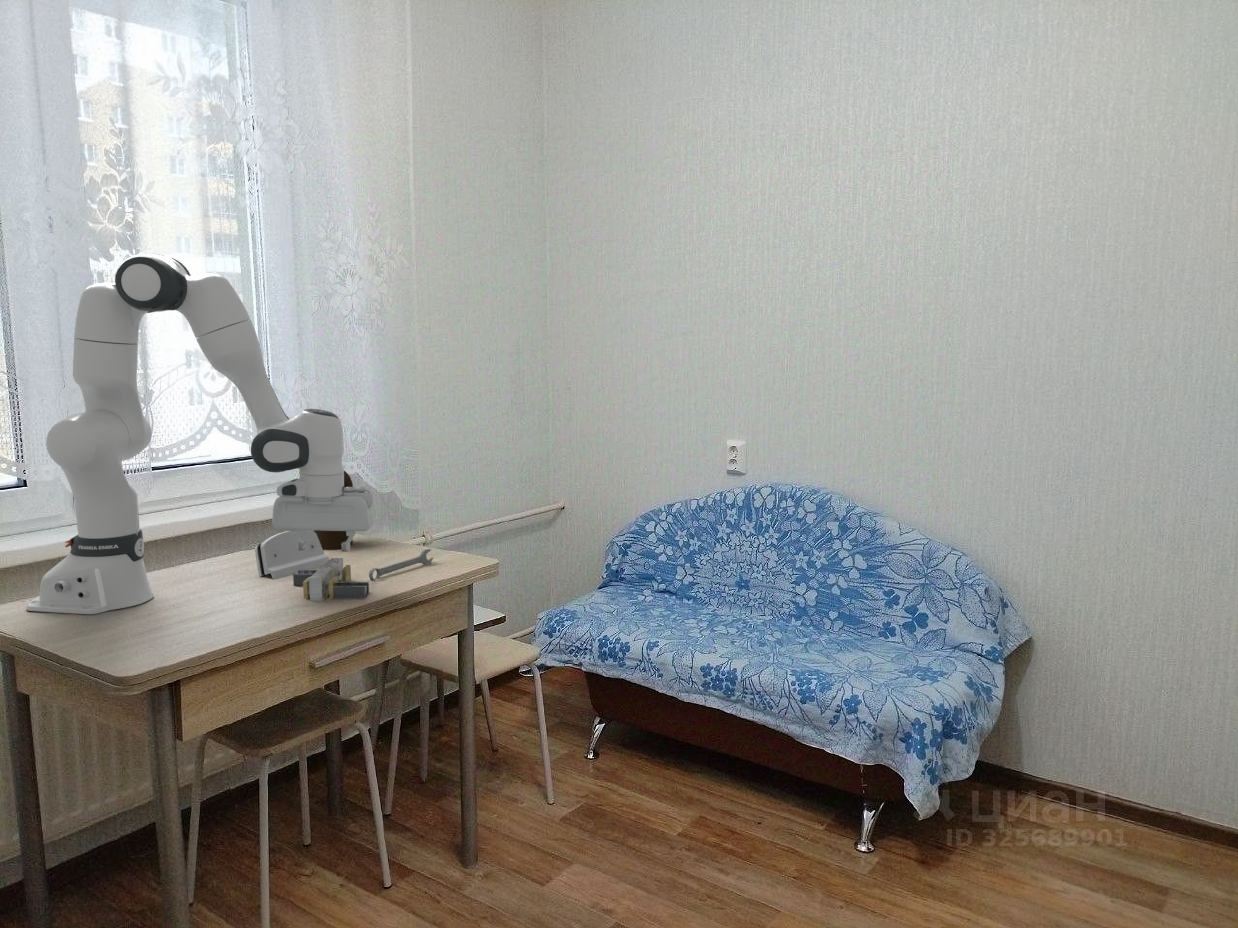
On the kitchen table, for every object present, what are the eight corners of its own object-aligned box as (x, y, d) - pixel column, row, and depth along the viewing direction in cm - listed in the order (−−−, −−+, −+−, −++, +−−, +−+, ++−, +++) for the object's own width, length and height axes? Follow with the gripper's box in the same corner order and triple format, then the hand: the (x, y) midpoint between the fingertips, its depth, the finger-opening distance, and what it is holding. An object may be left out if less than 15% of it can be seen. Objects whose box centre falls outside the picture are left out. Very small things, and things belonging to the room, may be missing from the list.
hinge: (272, 579, 209) (260, 536, 209) (260, 583, 212) (247, 540, 212) (331, 563, 223) (320, 522, 224) (319, 567, 226) (307, 527, 226)
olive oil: (363, 544, 242) (359, 448, 239) (327, 552, 234) (322, 452, 231) (340, 538, 249) (335, 444, 245) (303, 545, 241) (299, 448, 237)
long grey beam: (309, 601, 193) (308, 578, 192) (332, 579, 210) (331, 557, 209) (322, 601, 193) (321, 578, 192) (344, 579, 210) (343, 557, 209)
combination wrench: (371, 568, 207) (435, 547, 224) (367, 567, 208) (431, 547, 224) (372, 584, 208) (435, 563, 224) (368, 583, 208) (431, 562, 225)
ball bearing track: (278, 598, 194) (277, 582, 194) (299, 580, 208) (298, 565, 208) (364, 598, 195) (364, 581, 194) (380, 580, 208) (379, 564, 208)
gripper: (375, 484, 202) (376, 548, 204) (278, 482, 201) (280, 546, 203) (368, 489, 195) (369, 555, 197) (268, 487, 195) (270, 553, 197)
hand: (323, 550), depth 200 cm, fingers open, 8 cm apart
